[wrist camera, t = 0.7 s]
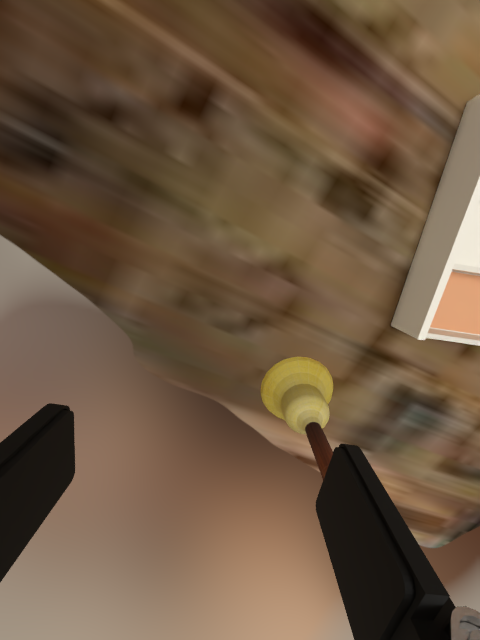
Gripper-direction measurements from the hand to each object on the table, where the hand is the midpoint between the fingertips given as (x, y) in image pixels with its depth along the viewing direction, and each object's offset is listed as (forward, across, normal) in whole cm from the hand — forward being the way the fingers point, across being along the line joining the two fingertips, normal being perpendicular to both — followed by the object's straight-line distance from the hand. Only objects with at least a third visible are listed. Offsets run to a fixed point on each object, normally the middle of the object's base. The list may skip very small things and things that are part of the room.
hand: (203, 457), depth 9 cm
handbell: (+29, -14, +14) cm, 35 cm away
